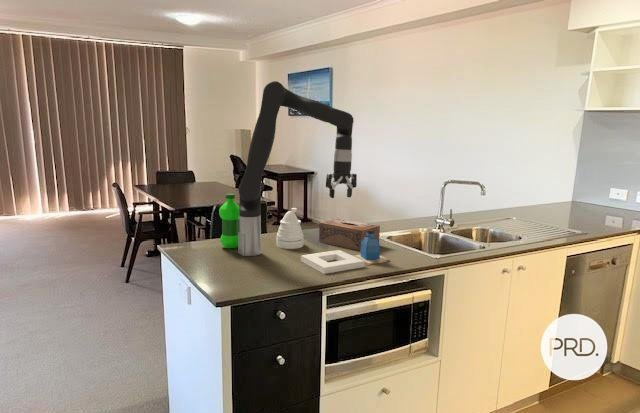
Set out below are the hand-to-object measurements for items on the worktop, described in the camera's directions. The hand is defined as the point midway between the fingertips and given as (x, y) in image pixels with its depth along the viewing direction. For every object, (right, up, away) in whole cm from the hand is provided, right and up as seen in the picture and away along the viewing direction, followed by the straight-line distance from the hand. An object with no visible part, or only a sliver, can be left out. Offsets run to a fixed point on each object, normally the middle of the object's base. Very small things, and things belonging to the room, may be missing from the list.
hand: (340, 197), depth 193 cm
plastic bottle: (-50, -23, +14) cm, 57 cm away
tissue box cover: (+5, -22, +25) cm, 34 cm away
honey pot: (-23, -23, +20) cm, 38 cm away
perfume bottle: (+12, -26, -2) cm, 29 cm away
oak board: (+13, -27, -2) cm, 30 cm away
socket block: (-4, -28, -9) cm, 29 cm away
